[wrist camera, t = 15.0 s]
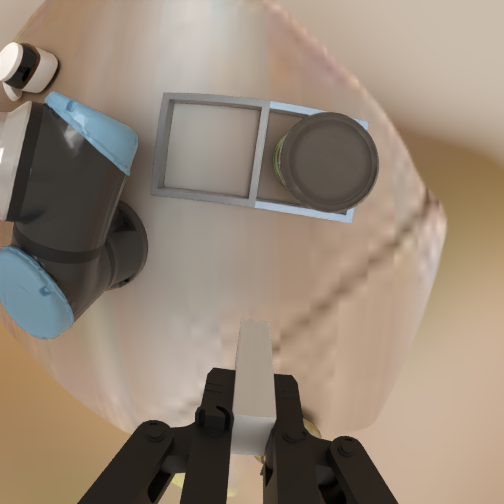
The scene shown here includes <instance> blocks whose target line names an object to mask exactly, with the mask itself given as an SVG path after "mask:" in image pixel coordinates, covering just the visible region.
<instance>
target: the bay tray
mask: <svg viewBox="0 0 504 504" xmlns="http://www.w3.org/2000/svg"><path fill="white" fill-rule="evenodd" d="M174 103H190V104H206V105H218V106H229V107H238V108H247V109H255V110H262V112H261V118H260V125H259V132H258V138H257V145H256V152H255V159H254V165H253V172H252V179H251V186H250V193H249V197H244V196H237V195H229V194H222V193H214V192H205V191H197V190H188V189H179V188H169V187H164V177H165V168H166V159H167V151H168V143H169V135H170V128H171V121H172V115H173V109H174ZM269 112H276V113H282V114H288V115H293V116H299V117H304V118H306V117H308V116H310V115H313V114H316V113H321V112H326V111H321V110H317V109H312V108H307V107H302V106H296V105H291V104H285V103H279V102H273V101H266V100H259V99H251V98H243V97H233V96H223V95H210V94H193V93H163V99H162V105H161V111H160V117H159V124H158V131H157V138H156V146H155V154H154V163H153V173H152V184H151V195H155V196H165V197H174V198H183V199H191V200H200V201H208V202H216V203H223V204H231V205H238V206H246V207H253V208H260V209H266V210H273V211H280V212H286V213H293V214H299V215H305V216H311V217H317V218H323V219H329V220H334V221H340V222H346V223H352V218H353V213H354V208H355V207H354V208H352V209H349V210H347V211H343V212H338V213H324V212H320V211H316V210H313V209H311V208H309V207H307V206H303V205H297V204H291V203H285V202H278V201H272V200H265V199H258V198H256V196H257V189H258V183H259V176H260V169H261V162H262V156H263V149H264V142H265V136H266V129H267V122H268V116H269ZM350 118H351V117H350ZM352 119H354V118H352ZM354 120H355V121H357V122H358V123H359V124H360V125H362V126H363V127H364V129H365V130H366V131H367V129H368V122H365V121H362V120H358V119H354Z"/></svg>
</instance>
